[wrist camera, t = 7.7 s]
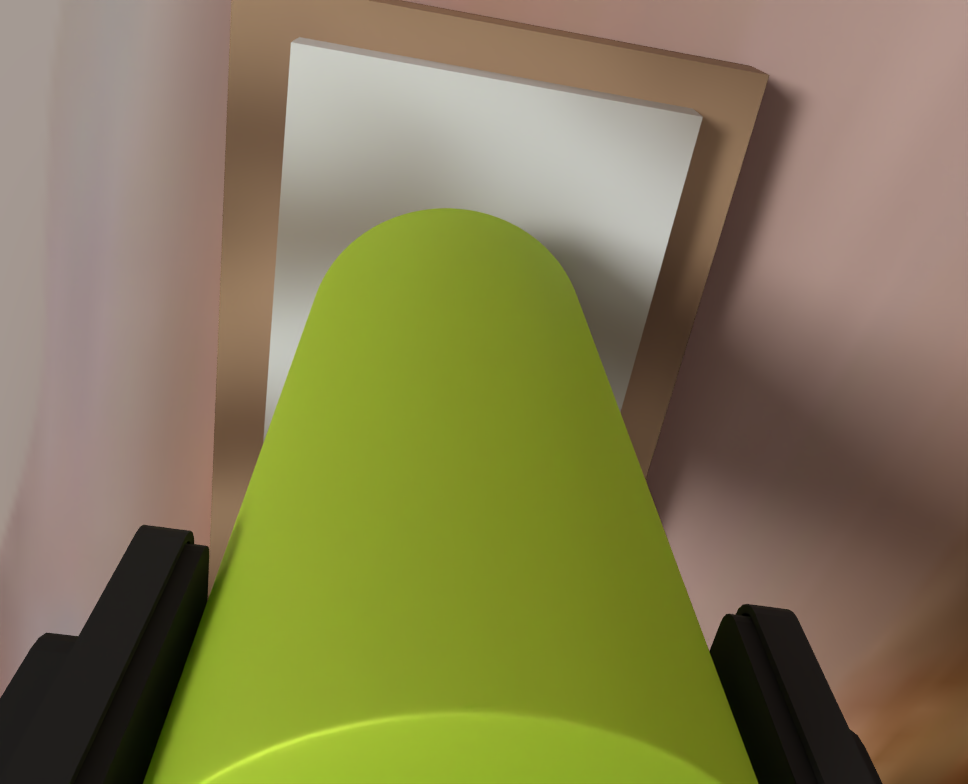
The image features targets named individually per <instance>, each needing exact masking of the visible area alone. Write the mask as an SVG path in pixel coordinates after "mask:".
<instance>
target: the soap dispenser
mask: <svg viewBox="0 0 968 784" xmlns="http://www.w3.org/2000/svg"><path fill="white" fill-rule="evenodd" d="M143 784H758V781H757V778H756V776H755V773H754V770H753V768H752V765H751V762H750V760H749V757H748V754H747V752H746V749H745V746H744V743H743V741H742V738H741V735H740V733H739V730H738V727H737V725H736V722H735V719H734V717H733V714H732V711H731V709H730V706H729V703H728V700H727V698H726V695H725V692H724V690H723V687H722V684H721V682H720V679H719V676H718V674H717V671H716V668H715V666H714V663H713V660H712V657H711V655H710V652H709V649H708V647H707V644H706V641H705V639H704V636H703V633H702V631H701V628H700V625H699V623H698V620H697V617H696V615H695V612H694V609H693V606H692V604H691V601H690V598H689V596H688V593H687V590H686V588H685V585H684V582H683V580H682V577H681V574H680V572H679V569H678V566H677V563H676V561H675V558H674V555H673V553H672V550H671V547H670V545H669V542H668V539H667V537H666V534H665V531H664V529H663V526H662V523H661V520H660V518H659V515H658V512H657V510H656V507H655V504H654V502H653V499H652V496H651V494H650V491H649V488H648V486H647V483H646V480H645V477H644V475H643V472H642V469H641V467H640V464H639V461H638V459H637V456H636V453H635V451H634V448H633V445H632V443H631V440H630V437H629V434H628V432H627V429H626V426H625V424H624V421H623V418H622V416H621V413H620V410H619V408H618V405H617V402H616V400H615V397H614V394H613V391H612V389H611V386H610V383H609V381H608V378H607V375H606V373H605V370H604V367H603V365H602V362H601V359H600V357H599V354H598V351H597V348H596V346H595V343H594V340H593V338H592V335H591V332H590V330H589V327H588V324H587V322H586V319H585V316H584V314H583V311H582V308H581V305H580V303H579V300H578V297H577V295H576V292H575V290H574V287H573V285H572V283H571V281H570V279H569V277H568V276H567V274H566V272H565V271H564V269H563V268H562V266H561V265H560V263H559V262H558V261H557V259H556V258H555V257H554V256H553V255H552V254H551V252H550V251H549V250H548V249H547V248H546V247H545V246H543V245H542V244H541V243H540V242H539V241H538V240H537V239H535V238H534V237H533V236H531V235H530V234H529V233H527V232H525V231H524V230H522V229H521V228H519V227H517V226H515V225H513V224H512V223H509V222H507V221H505V220H503V219H500V218H498V217H495V216H492V215H489V214H485V213H481V212H477V211H472V210H465V209H455V208H437V209H427V210H420V211H415V212H411V213H407V214H403V215H400V216H397V217H395V218H392V219H389V220H387V221H385V222H383V223H381V224H379V225H377V226H375V227H373V228H372V229H370V230H368V231H367V232H365V233H364V234H362V235H361V236H360V237H358V238H357V239H356V240H355V241H353V242H352V243H351V244H350V245H349V246H348V247H347V248H346V249H345V250H344V251H343V252H342V253H341V254H340V255H339V256H338V257H337V259H336V260H335V261H334V262H333V264H332V265H331V267H330V268H329V270H328V271H327V273H326V274H325V276H324V278H323V280H322V282H321V284H320V286H319V288H318V291H317V293H316V296H315V299H314V302H313V304H312V307H311V310H310V313H309V316H308V319H307V321H306V324H305V327H304V330H303V333H302V336H301V338H300V341H299V344H298V347H297V350H296V352H295V355H294V358H293V361H292V364H291V367H290V369H289V372H288V375H287V378H286V381H285V384H284V386H283V389H282V392H281V395H280V398H279V400H278V403H277V406H276V409H275V412H274V415H273V417H272V420H271V423H270V426H269V429H268V432H267V434H266V437H265V440H264V443H263V446H262V449H261V451H260V454H259V457H258V460H257V463H256V465H255V468H254V471H253V474H252V477H251V480H250V482H249V485H248V488H247V491H246V494H245V497H244V499H243V502H242V505H241V508H240V511H239V514H238V516H237V519H236V522H235V525H234V528H233V530H232V533H231V536H230V539H229V542H228V545H227V547H226V550H225V553H224V556H223V559H222V562H221V564H220V567H219V570H218V573H217V576H216V578H215V581H214V584H213V587H212V590H211V593H210V595H209V598H208V601H207V604H206V607H205V610H204V612H203V615H202V618H201V621H200V624H199V627H198V629H197V632H196V635H195V638H194V641H193V643H192V646H191V649H190V652H189V655H188V658H187V660H186V663H185V666H184V669H183V672H182V675H181V677H180V680H179V683H178V686H177V689H176V692H175V694H174V697H173V700H172V703H171V706H170V708H169V711H168V714H167V717H166V720H165V723H164V725H163V728H162V731H161V734H160V737H159V740H158V742H157V745H156V748H155V751H154V754H153V756H152V759H151V762H150V765H149V768H148V771H147V773H146V776H145V779H144V782H143Z"/></svg>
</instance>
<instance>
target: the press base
mask: <svg viewBox="0 0 968 784" xmlns="http://www.w3.org/2000/svg"><path fill="white" fill-rule="evenodd" d="M768 78H769V75H768V74H766V73H764V72H762V71H760V70H758V69H756V68H754V67H752V66H748V65H743V64H737V63H732V62H727V61H721V60H716V59H711V58H705V57H700V56H695V55H689V54H684V53H679V52H673V51H668V50H663V49H657V48H652V47H647V46H641V45H636V44H631V43H625V42H620V41H615V40H609V39H604V38H599V37H593V36H588V35H583V34H577V33H572V32H567V31H561V30H556V29H550V28H545V27H540V26H534V25H529V24H524V23H518V22H513V21H508V20H502V19H497V18H492V17H486V16H481V15H476V14H470V13H465V12H460V11H454V10H449V9H444V8H438V7H433V6H428V5H422V4H417V3H412V2H406V1H401V0H231V25H230V50H229V75H228V101H227V126H226V151H225V176H224V202H223V227H222V252H221V277H220V302H219V328H218V353H217V378H216V403H215V429H214V454H213V479H212V504H211V530H210V555H209V580H208V598H209V595H210V593H211V590H212V587H213V584H214V581H215V578H216V576H217V573H218V570H219V567H220V564H221V562H222V559H223V556H224V553H225V550H226V547H227V545H228V542H229V539H230V536H231V533H232V530H233V528H234V525H235V522H236V519H237V516H238V514H239V511H240V508H241V505H242V502H243V499H244V497H245V494H246V491H247V488H248V485H249V482H250V480H251V477H252V474H253V471H254V468H255V465H256V463H257V460H258V457H259V454H260V451H261V449H262V446H263V443H264V440H265V437H266V434H267V432H268V429H269V426H270V423H271V420H272V417H273V415H274V412H275V409H276V406H277V403H278V400H279V398H280V395H281V392H282V389H283V386H284V384H285V381H286V378H287V375H288V372H289V369H290V367H291V364H292V361H293V358H294V355H295V352H296V350H297V347H298V344H299V341H300V338H301V336H302V333H303V330H304V327H305V324H306V321H307V319H308V316H309V313H310V310H311V307H312V304H313V302H314V299H315V296H316V293H317V291H318V288H319V286H320V284H321V282H322V280H323V278H324V276H325V274H326V273H327V271H328V270H329V268H330V267H331V265H332V264H333V262H334V261H335V260H336V259H337V257H338V256H339V255H340V254H341V253H342V252H343V251H344V250H345V249H346V248H347V247H348V246H349V245H350V244H351V243H352V242H353V241H355V240H356V239H357V238H358V237H360V236H361V235H362V234H364V233H365V232H367V231H368V230H370V229H372V228H373V227H375V226H377V225H379V224H381V223H383V222H385V221H387V220H389V219H392V218H395V217H397V216H400V215H403V214H407V213H411V212H415V211H420V210H427V209H437V208H455V209H465V210H472V211H477V212H481V213H485V214H489V215H492V216H495V217H498V218H500V219H503V220H505V221H507V222H509V223H512V224H513V225H515V226H517V227H519V228H521V229H522V230H524V231H525V232H527V233H529V234H530V235H531V236H533V237H534V238H535V239H537V240H538V241H539V242H540V243H541V244H542V245H543V246H545V247H546V248H547V249H548V250H549V251H550V252H551V254H552V255H553V256H554V257H555V258H556V259H557V261H558V262H559V263H560V265H561V266H562V268H563V269H564V271H565V272H566V274H567V276H568V277H569V279H570V281H571V283H572V285H573V287H574V290H575V292H576V295H577V297H578V300H579V303H580V305H581V308H582V311H583V314H584V316H585V319H586V322H587V324H588V327H589V330H590V332H591V335H592V338H593V340H594V343H595V346H596V348H597V351H598V354H599V357H600V359H601V362H602V365H603V367H604V370H605V373H606V375H607V378H608V381H609V383H610V386H611V389H612V391H613V394H614V397H615V400H616V402H617V405H618V408H619V410H620V413H621V416H622V418H623V421H624V424H625V426H626V429H627V432H628V434H629V437H630V440H631V443H632V445H633V448H634V451H635V453H636V456H637V459H638V461H639V464H640V467H641V469H642V472H643V475H644V477H645V480H646V477H647V473H648V470H649V467H650V463H651V460H652V457H653V454H654V450H655V447H656V444H657V441H658V437H659V434H660V431H661V427H662V424H663V421H664V418H665V414H666V411H667V408H668V405H669V401H670V398H671V395H672V392H673V388H674V385H675V382H676V378H677V375H678V372H679V369H680V365H681V362H682V359H683V356H684V352H685V349H686V346H687V342H688V339H689V336H690V333H691V329H692V326H693V323H694V320H695V316H696V313H697V310H698V307H699V303H700V300H701V297H702V293H703V290H704V287H705V284H706V280H707V277H708V274H709V271H710V267H711V264H712V261H713V257H714V254H715V251H716V248H717V244H718V241H719V238H720V235H721V231H722V228H723V225H724V222H725V218H726V215H727V212H728V208H729V205H730V202H731V199H732V195H733V192H734V189H735V186H736V182H737V179H738V176H739V172H740V169H741V166H742V163H743V159H744V156H745V153H746V150H747V146H748V143H749V140H750V136H751V133H752V130H753V127H754V123H755V120H756V117H757V114H758V110H759V107H760V104H761V101H762V97H763V94H764V91H765V87H766V84H767V81H768Z"/></svg>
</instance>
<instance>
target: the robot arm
mask: <svg viewBox="0 0 968 784" xmlns="http://www.w3.org/2000/svg"><path fill="white" fill-rule="evenodd" d="M208 577H209V547H208V546H203V545H196V544H194V536H193V532H191V531H187V530H179V529H171V528H164V527H156V526H148V525H143V526H141V527H140V528H139V529H138V531H137V532H136V534H135V536H134V537H133V539H132V541H131V543H130V545H129V546H128V548H127V550H126V552H125V554H124V555H123V557H122V559H121V561H120V563H119V564H118V566H117V568H116V570H115V572H114V573H113V575H112V577H111V579H110V581H109V582H108V584H107V586H106V588H105V590H104V591H103V593H102V595H101V597H100V599H99V600H98V602H97V604H96V606H95V608H94V609H93V611H92V613H91V615H90V617H89V618H88V620H87V622H86V624H85V626H84V627H83V629H82V631H81V633H80V635H79V636H71V635H62V634H54V633H45V634H44V635H42V636H41V637H40V638H38V640H37V641H36V642H35V644H34V645H33V646H32V648H31V649H30V651H29V652H28V654H27V656H26V657H25V659H24V661H23V662H22V664H21V665H20V667H19V669H18V670H17V672H16V674H15V675H14V677H13V678H12V680H11V682H10V683H9V685H8V687H7V688H6V690H5V692H4V693H3V695H2V696H1V698H0V784H143V782H144V779H145V776H146V773H147V771H148V768H149V765H150V762H151V759H152V756H153V754H154V751H155V748H156V745H157V742H158V740H159V737H160V734H161V731H162V728H163V725H164V723H165V720H166V717H167V714H168V711H169V708H170V706H171V703H172V700H173V697H174V694H175V692H176V689H177V686H178V683H179V680H180V677H181V675H182V672H183V669H184V666H185V663H186V660H187V658H188V655H189V652H190V649H191V646H192V643H193V641H194V638H195V635H196V632H197V629H198V627H199V624H200V621H201V618H202V615H203V612H204V610H205V607H206V604H207V601H208ZM709 652H710V655H711V657H712V660H713V663H714V666H715V668H716V671H717V674H718V676H719V679H720V682H721V684H722V687H723V690H724V692H725V695H726V698H727V700H728V703H729V706H730V709H731V711H732V714H733V717H734V719H735V722H736V725H737V727H738V730H739V733H740V735H741V738H742V741H743V743H744V746H745V749H746V752H747V754H748V757H749V760H750V762H751V765H752V768H753V770H754V773H755V776H756V778H757V781H758V784H882V782H881V780H880V777H879V775H878V773H877V771H876V769H875V767H874V765H873V763H872V761H871V759H870V757H869V754H868V752H867V750H866V748H865V746H864V745H863V743H862V742H861V740H860V738H859V737H858V735H856V734H855V733H854V732H853V731H851V730H850V729H849V727H848V725H847V723H846V721H845V719H844V717H843V714H842V712H841V710H840V708H839V706H838V704H837V702H836V699H835V697H834V695H833V693H832V691H831V689H830V687H829V685H828V682H827V680H826V678H825V676H824V674H823V672H822V670H821V668H820V665H819V663H818V661H817V659H816V657H815V655H814V653H813V650H812V648H811V646H810V644H809V642H808V640H807V638H806V636H805V633H804V631H803V629H802V627H801V625H800V623H799V621H798V618H797V617H796V615H795V614H794V612H792V611H790V610H788V609H781V608H773V607H765V606H758V605H750V604H745V605H742V606H741V607H740V608H739V609H738V611H737V613H736V615H734V614H726V615H725V616H724V617H723V619H722V621H721V623H720V626H719V628H718V631H717V633H716V636H715V639H714V641H713V644H712V646H711V649H710V651H709Z"/></svg>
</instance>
